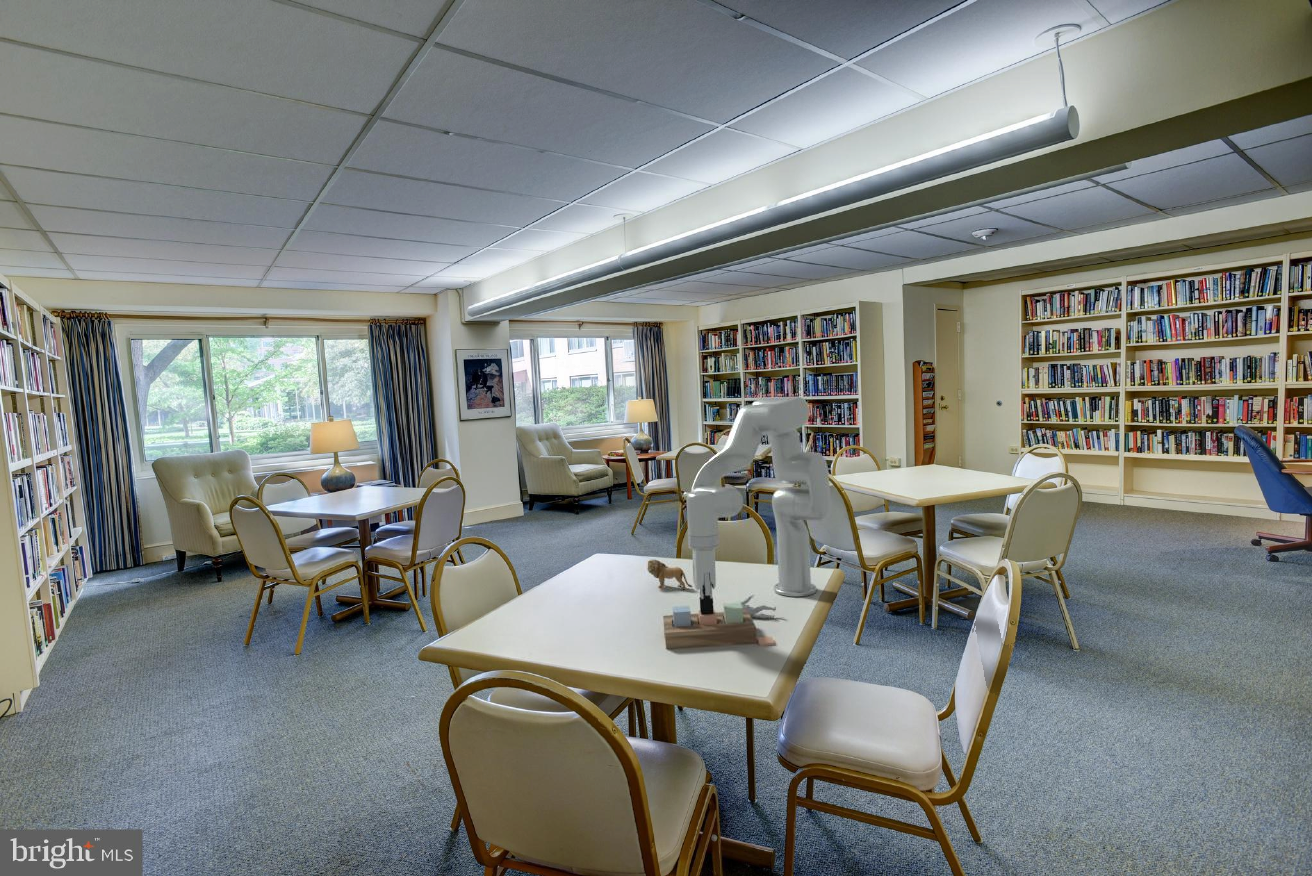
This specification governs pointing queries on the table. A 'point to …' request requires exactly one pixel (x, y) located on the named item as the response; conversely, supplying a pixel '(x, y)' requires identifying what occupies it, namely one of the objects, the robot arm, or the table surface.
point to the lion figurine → (666, 573)
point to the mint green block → (733, 613)
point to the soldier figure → (756, 609)
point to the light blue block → (681, 616)
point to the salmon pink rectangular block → (707, 618)
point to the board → (709, 632)
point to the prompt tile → (765, 641)
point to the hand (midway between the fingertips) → (706, 613)
